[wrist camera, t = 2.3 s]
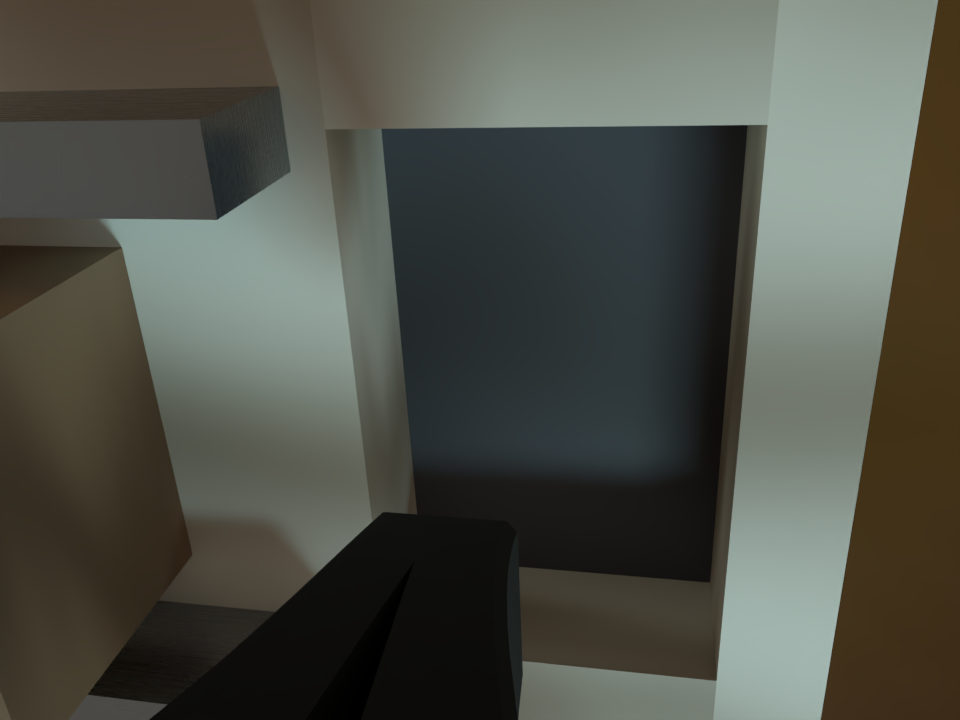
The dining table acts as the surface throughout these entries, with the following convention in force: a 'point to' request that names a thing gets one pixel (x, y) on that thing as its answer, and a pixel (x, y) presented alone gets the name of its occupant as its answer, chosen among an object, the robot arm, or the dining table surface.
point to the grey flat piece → (531, 309)
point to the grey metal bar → (145, 195)
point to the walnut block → (76, 477)
